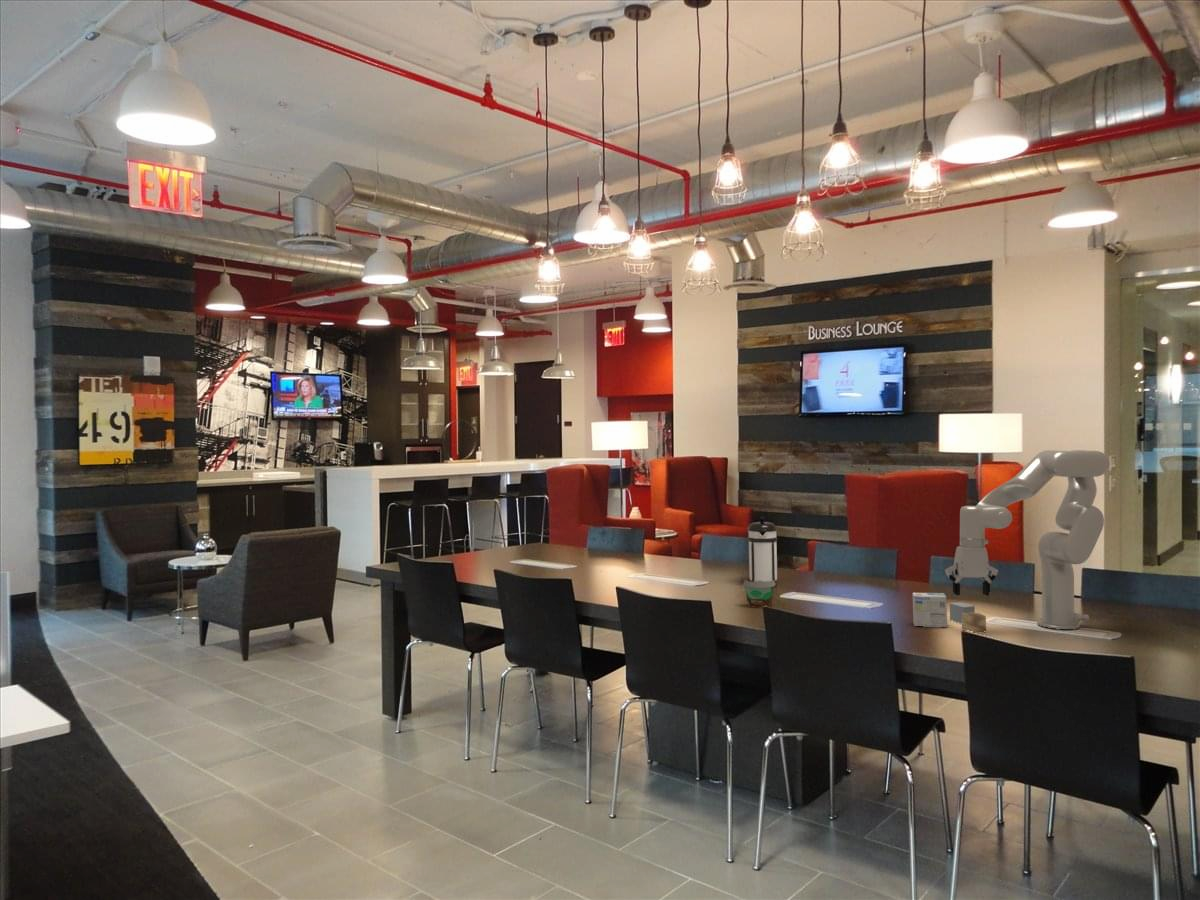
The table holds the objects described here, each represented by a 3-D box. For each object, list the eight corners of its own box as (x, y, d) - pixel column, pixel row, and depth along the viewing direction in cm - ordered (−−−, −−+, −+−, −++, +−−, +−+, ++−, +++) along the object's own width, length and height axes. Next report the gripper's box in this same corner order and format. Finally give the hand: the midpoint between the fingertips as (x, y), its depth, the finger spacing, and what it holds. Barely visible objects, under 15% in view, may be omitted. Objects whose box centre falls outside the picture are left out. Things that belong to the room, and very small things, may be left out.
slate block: (960, 619, 295) (960, 602, 295) (974, 623, 288) (974, 606, 288) (950, 620, 293) (949, 603, 293) (963, 624, 287) (963, 607, 287)
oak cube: (978, 628, 280) (977, 612, 280) (985, 632, 275) (985, 616, 275) (961, 629, 280) (961, 612, 280) (969, 633, 275) (969, 616, 275)
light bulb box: (945, 623, 288) (944, 592, 288) (947, 628, 282) (947, 596, 282) (912, 622, 291) (911, 591, 291) (914, 627, 285) (913, 595, 284)
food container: (742, 607, 321) (742, 582, 321) (743, 604, 327) (743, 579, 327) (775, 608, 318) (774, 582, 318) (776, 605, 324) (775, 579, 324)
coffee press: (789, 584, 366) (788, 516, 366) (761, 588, 358) (760, 519, 358) (763, 579, 381) (761, 513, 381) (735, 583, 373) (734, 516, 373)
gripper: (992, 541, 281) (991, 592, 281) (941, 541, 281) (940, 592, 281) (1003, 544, 273) (1002, 597, 274) (950, 544, 273) (950, 596, 273)
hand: (971, 594), depth 277 cm, fingers open, 9 cm apart
